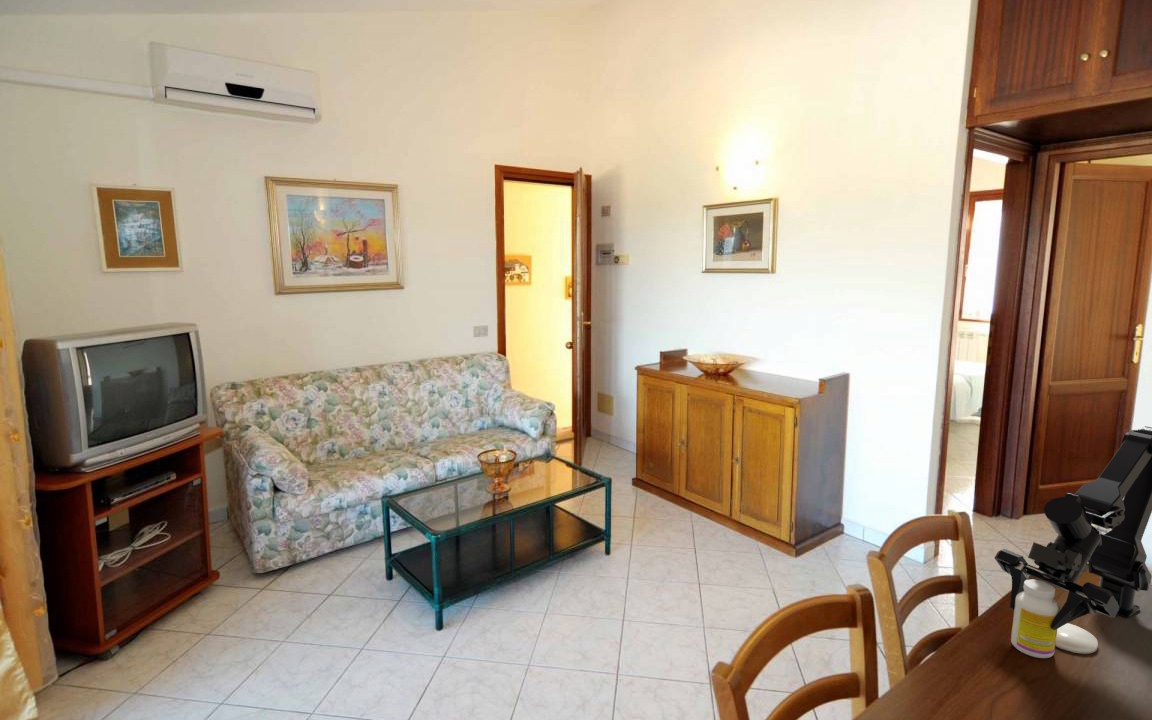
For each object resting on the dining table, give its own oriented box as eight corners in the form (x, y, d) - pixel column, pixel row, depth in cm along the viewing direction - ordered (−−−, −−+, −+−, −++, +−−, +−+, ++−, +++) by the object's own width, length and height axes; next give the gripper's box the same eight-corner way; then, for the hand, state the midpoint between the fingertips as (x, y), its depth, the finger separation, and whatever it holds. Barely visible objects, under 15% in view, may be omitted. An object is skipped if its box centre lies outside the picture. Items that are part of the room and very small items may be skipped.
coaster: (1051, 619, 125) (1051, 615, 125) (1106, 643, 117) (1106, 638, 117) (1028, 634, 120) (1029, 629, 120) (1084, 659, 113) (1085, 654, 113)
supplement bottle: (1061, 662, 112) (1070, 597, 110) (1020, 657, 114) (1028, 593, 111) (1042, 639, 119) (1050, 578, 116) (1003, 635, 120) (1010, 575, 118)
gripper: (1005, 510, 122) (964, 574, 119) (1120, 549, 106) (1076, 625, 103) (1023, 538, 127) (985, 601, 124) (1136, 580, 110) (1095, 654, 107)
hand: (1031, 618), depth 114 cm, fingers closed on supplement bottle, 7 cm apart
